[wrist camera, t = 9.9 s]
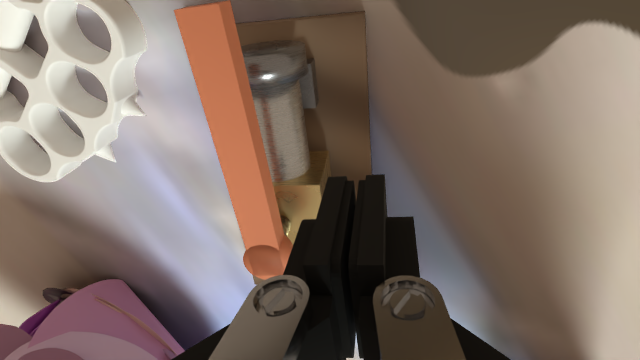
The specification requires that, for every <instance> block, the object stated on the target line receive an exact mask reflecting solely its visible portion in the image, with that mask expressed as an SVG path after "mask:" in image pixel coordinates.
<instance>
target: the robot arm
mask: <svg viewBox="0 0 640 360" xmlns="http://www.w3.org/2000/svg"><path fill="white" fill-rule="evenodd" d="M356 335H357V343H358V350H359V357H360V358H364V360H510V359H509V358H508V357H506V356H505V355H503V354H502V353H500V352H499V351H497V350H496V349H494V348H493V347H492V346H490V345H489V344H487V343H486V342H484V341H483V340H481V339H480V338H478V337H477V336H476V335H474V334H473V333H471V332H470V331H468V330H467V329H465V328H464V327H462V326H461V325H460V324H458V323H457V322H455V321H454V320H452V319H451V318H450V316H449V314H448V311H447V308H446V306H445V303H444V300H443V298H442V296H441V294H440V292H439V291H438V289H437V288H436V287H435V286H434V285H433V284H431V283H430V282H428V281H426V280H424V279H422V278H420V273H419V264H418V255H417V246H416V237H415V228H414V219H413V217H387V205H386V189H385V175H384V174H380V175H366V179H365V180H359V183H358V191H357V199H356V194H355V185H354V180H353V181H348V180H347V176H337V177H328V178H327V182H326V185H325V189H324V192H323V196H322V199H321V203H320V206H319V210H318V213H317V217H316V219H304V220H302V222H301V224H300V227H299V230H298V232H297V235H296V238H295V241H294V244H293V247H292V250H291V253H290V256H289V259H288V262H287V265H286V268H285V271H284V273H283V275H278V276H274V277H270V278H268V279H266V280H264V281H262V282H261V283H259V284H258V285H256V286H255V287H254V288H253V290H252V291H251V292H250V293H249V295H248V297H247V298H246V300H245V301H244V303H243V305H242V306H241V308H240V309H239V311H238V313H237V314H236V316H235V317H234V319H233V321H232V322H231V324H229V325H227V326H226V327H224V328H222V329H221V330H219V331H217V332H216V333H214V334H212V335H211V336H209V337H207V338H206V339H204V340H203V341H201V342H199V343H198V344H196V345H194V346H193V347H191V348H189V349H188V350H186V351H184V352H183V353H181V354H179V355H178V356H176V357H174V358H173V359H171V360H346V358H353V357H354V348H355V336H356Z"/></svg>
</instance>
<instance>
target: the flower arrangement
mask: <svg viewBox="0 0 640 360" xmlns="http://www.w3.org/2000/svg"><path fill="white" fill-rule="evenodd" d="M43 296H44V298H45V299H46V300H47V301H48V302H50V303H51V304H50V305H48V306H47V307H45V308H43V309H42V310H40V311H39V312H37V313H36V314H34V315H33V316H31V317H30V318H28V319H27V320H26V321H24V322H23V323H22V324H21V326H20V327H19V328H18V327H15V326H11V325H5V324H0V360H171V359H173V358H174V357H176V356H178V355H179V354H181V353H183V352H184V351H185V350H184V349H183V348H182V347H181V346H180V345H179V344H178V343H177V341H176V340H175V339H174V338H173V337H172V336H171V335H170V333H169V332H168V331H167V330H166V329H165V328H164V327H163V325H162V324H161V323H160V322H159V321H158V320H157V319H156V317H155V316H154V315H153V314H152V313H151V312H150V311H149V309H148V308H147V307H146V306H145V305H144V304H143V303H142V302H141V300H140V299H139V298H138V297H137V296H136V295H135V294H134V292H133V291H132V290H131V289H130V288H129V287H128V286H127V284H126V283H125V282H124V281H123V280H120V279H108V280H103V281H99V282H96V283H93V284H91V285H89V286H86V287H84V288H82V289H81V290H79V289H73V288H66V289H62V290H61V289H57V288H47V289H45V290H43ZM55 307H56V308H55ZM54 308H55V309H54ZM53 309H54V310H53Z"/></svg>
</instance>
